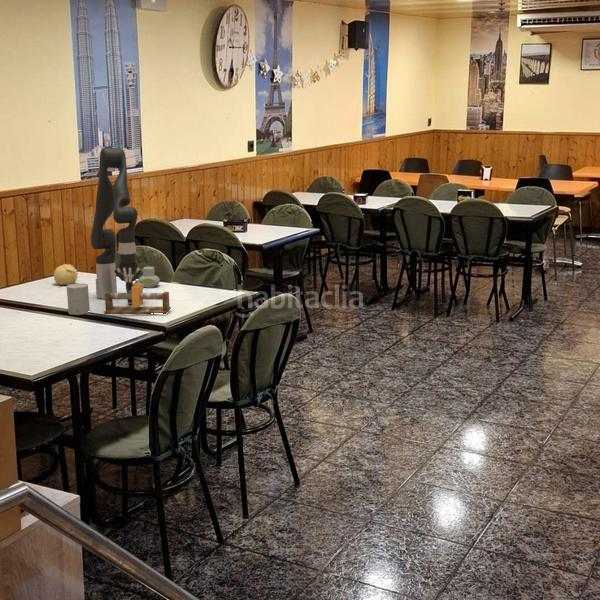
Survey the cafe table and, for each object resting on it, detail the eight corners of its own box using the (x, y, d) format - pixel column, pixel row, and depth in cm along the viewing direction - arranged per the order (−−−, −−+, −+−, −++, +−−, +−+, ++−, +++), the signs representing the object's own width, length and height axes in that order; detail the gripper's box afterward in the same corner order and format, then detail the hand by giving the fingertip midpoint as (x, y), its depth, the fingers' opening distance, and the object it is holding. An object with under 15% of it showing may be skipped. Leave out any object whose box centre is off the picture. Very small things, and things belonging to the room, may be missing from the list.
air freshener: (161, 284, 447) (160, 265, 445) (158, 288, 439) (157, 269, 437) (140, 285, 447) (139, 266, 445) (137, 288, 439) (136, 269, 437)
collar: (132, 306, 385) (131, 287, 383) (136, 302, 392) (135, 283, 390) (139, 306, 385) (138, 287, 382) (143, 302, 392) (142, 283, 390)
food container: (139, 306, 400) (138, 285, 397) (126, 306, 401) (125, 285, 398) (148, 301, 411) (147, 280, 409) (136, 300, 413) (135, 280, 410)
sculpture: (78, 285, 446) (77, 265, 444) (54, 287, 443) (52, 266, 441) (78, 281, 457) (76, 261, 455) (54, 283, 454) (53, 262, 452)
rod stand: (104, 314, 385) (103, 295, 383) (110, 309, 395) (109, 290, 393) (166, 315, 384) (165, 295, 382) (170, 309, 393) (169, 290, 391)
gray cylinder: (63, 313, 388) (62, 287, 385) (76, 309, 397) (74, 282, 394) (82, 315, 385) (80, 288, 382) (94, 310, 393) (92, 284, 391)
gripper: (144, 250, 386) (145, 288, 390) (115, 250, 387) (117, 288, 391) (140, 253, 379) (142, 291, 383) (110, 253, 380) (112, 291, 384)
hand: (129, 290), depth 387 cm, fingers closed
